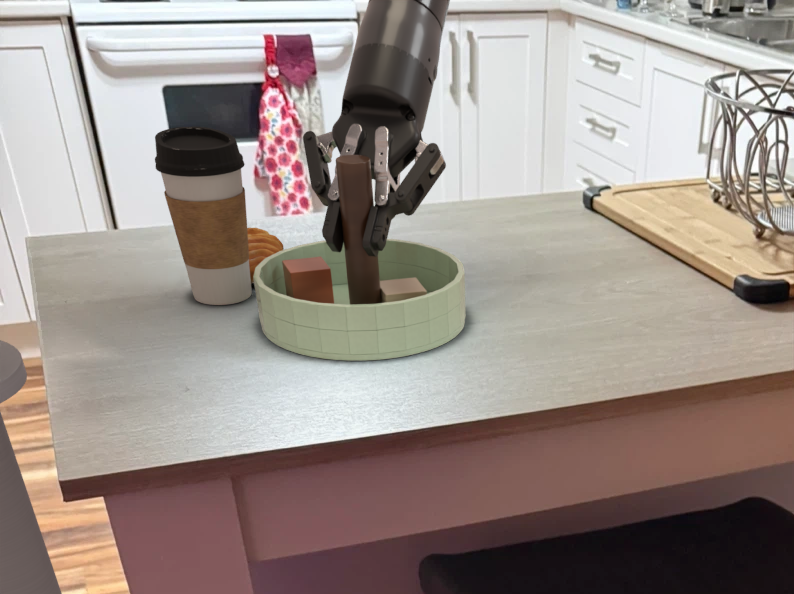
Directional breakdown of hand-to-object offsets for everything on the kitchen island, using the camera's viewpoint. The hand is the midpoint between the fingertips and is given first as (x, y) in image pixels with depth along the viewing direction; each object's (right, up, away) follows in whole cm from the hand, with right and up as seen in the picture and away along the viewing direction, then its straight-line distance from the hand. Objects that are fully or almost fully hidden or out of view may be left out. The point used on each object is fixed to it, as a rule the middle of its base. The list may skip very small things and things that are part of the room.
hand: (351, 248), depth 94 cm
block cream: (+4, -4, +8) cm, 10 cm away
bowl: (-1, -3, +11) cm, 11 cm away
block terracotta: (-6, 0, +12) cm, 13 cm away
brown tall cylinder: (0, -4, +6) cm, 7 cm away
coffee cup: (-16, +2, +15) cm, 22 cm away
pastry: (-14, +7, +21) cm, 26 cm away
